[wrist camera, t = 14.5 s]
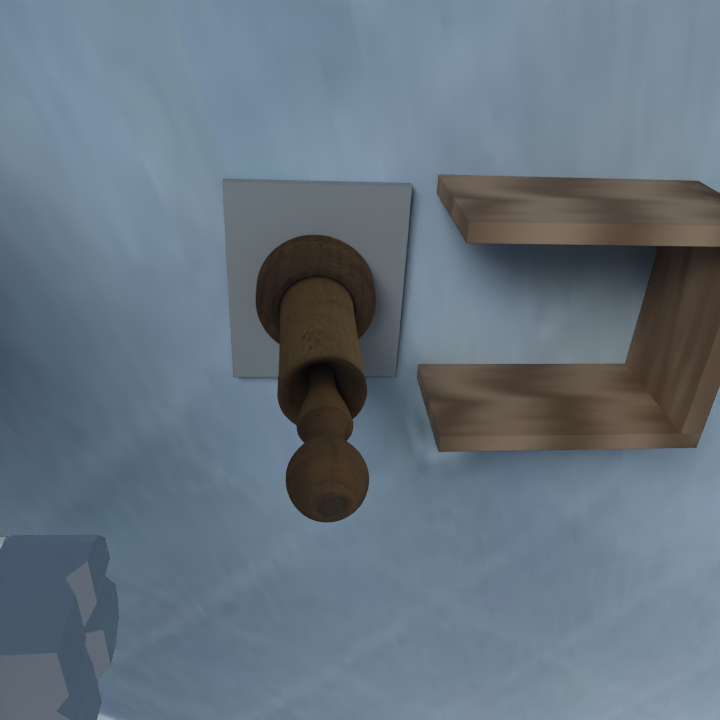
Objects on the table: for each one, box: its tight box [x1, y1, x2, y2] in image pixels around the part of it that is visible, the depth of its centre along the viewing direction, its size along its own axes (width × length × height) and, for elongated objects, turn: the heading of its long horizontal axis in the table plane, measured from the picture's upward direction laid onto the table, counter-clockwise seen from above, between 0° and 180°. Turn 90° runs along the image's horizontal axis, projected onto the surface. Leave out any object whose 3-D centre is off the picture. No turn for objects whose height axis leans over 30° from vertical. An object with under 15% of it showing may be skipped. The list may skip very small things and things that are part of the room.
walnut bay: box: [417, 175, 720, 452], centre depth 38 cm, size 15×13×8 cm
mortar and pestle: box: [256, 235, 376, 522], centre depth 31 cm, size 7×6×18 cm
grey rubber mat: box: [223, 179, 412, 377], centre depth 39 cm, size 10×12×1 cm
